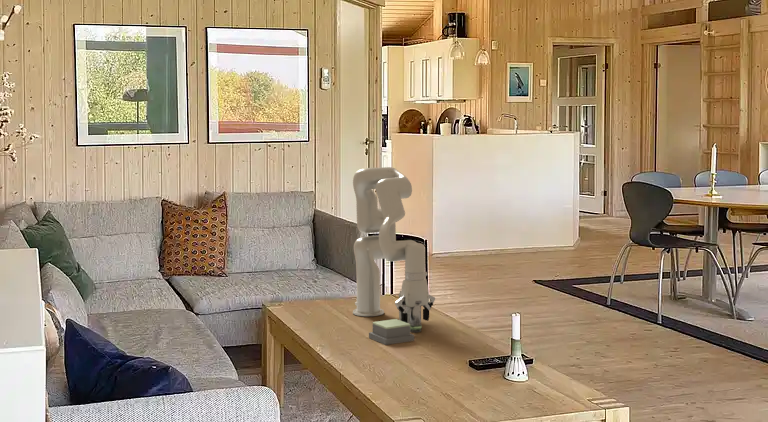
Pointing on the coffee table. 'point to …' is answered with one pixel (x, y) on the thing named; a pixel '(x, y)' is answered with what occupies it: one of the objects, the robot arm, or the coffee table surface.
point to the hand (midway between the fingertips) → (415, 321)
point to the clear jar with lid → (415, 318)
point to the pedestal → (391, 332)
